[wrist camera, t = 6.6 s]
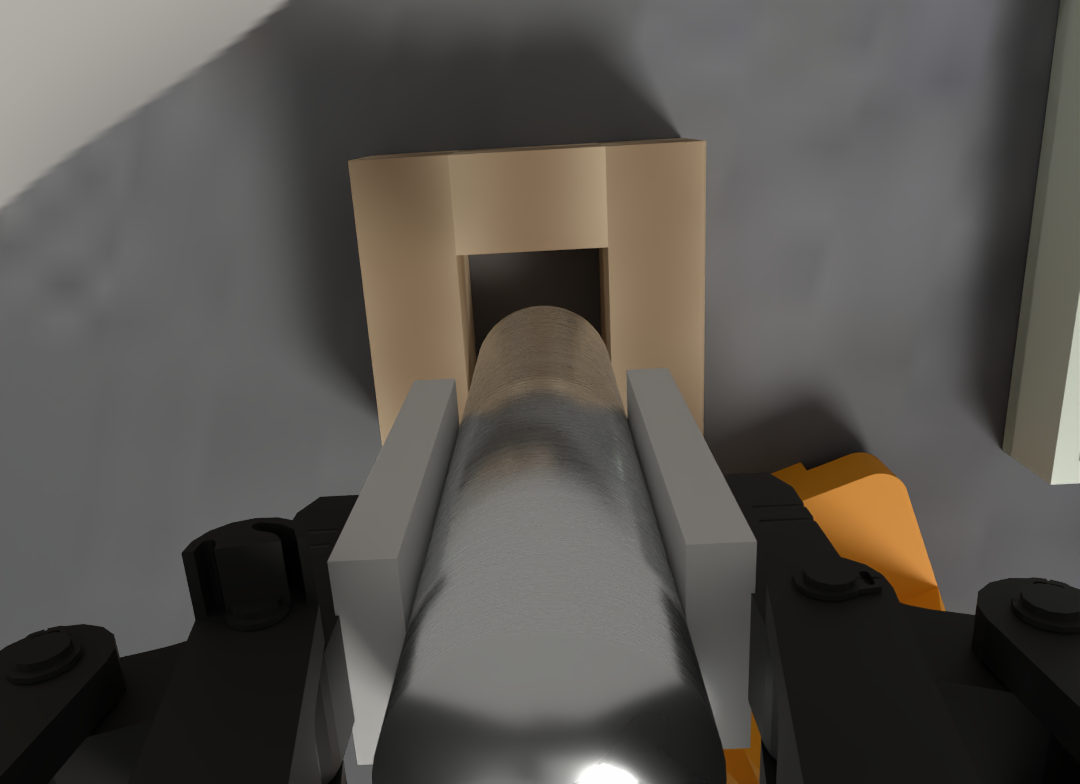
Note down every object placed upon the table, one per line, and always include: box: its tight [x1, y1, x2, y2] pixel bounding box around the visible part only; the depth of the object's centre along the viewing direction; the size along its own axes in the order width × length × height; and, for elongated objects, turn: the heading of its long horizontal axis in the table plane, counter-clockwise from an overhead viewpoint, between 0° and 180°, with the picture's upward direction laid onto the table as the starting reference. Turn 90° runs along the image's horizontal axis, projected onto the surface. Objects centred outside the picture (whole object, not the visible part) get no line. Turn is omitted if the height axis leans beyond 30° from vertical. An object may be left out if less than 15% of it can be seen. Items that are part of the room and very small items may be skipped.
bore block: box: [348, 138, 706, 447], centre depth 27 cm, size 10×10×4 cm
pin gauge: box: [372, 306, 727, 784], centre depth 14 cm, size 3×3×13 cm
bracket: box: [723, 452, 945, 784], centre depth 26 cm, size 11×7×12 cm, turn 113°
